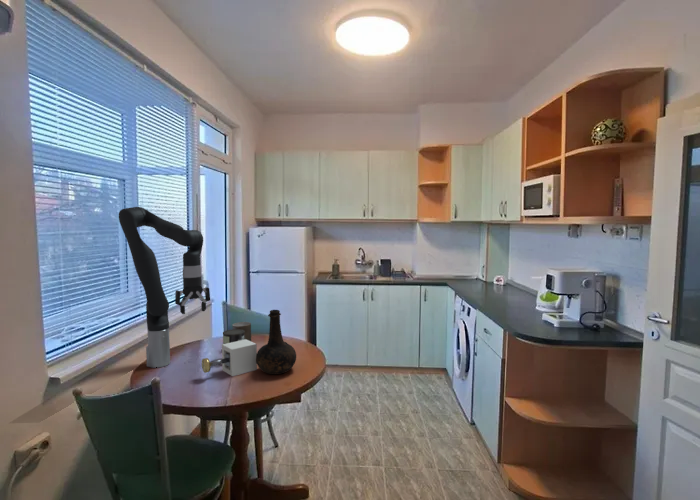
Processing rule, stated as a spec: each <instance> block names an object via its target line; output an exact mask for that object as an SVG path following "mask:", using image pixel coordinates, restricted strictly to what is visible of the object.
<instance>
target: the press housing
mask: <svg viewBox="0 0 700 500" xmlns="http://www.w3.org/2000/svg"><path fill="white" fill-rule="evenodd" d="M257 348H258V345H257V343H255V342H253V341H252V340H251V341H249V340H247V339H245V340H241V341H236V342H231V343H227V344H221V359H224V358H225V353H228V354H230V367H229V366H228V365H226V364H225V363H223V364H221V365H222V371H223V372H224V373H226V374H228V375H230V376H231V377H236V376H238V375H242V374H246V373H250V372H254V371H257V370H258V365H257V363H256V355H257V352H258V350H257Z"/></svg>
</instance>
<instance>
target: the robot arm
mask: <svg viewBox="0 0 700 500" xmlns="http://www.w3.org/2000/svg"><path fill="white" fill-rule="evenodd" d="M118 221H119V224H120V226H121V230H122V232H123V234H124V237H125V240H126V242H127V244H128V247H129V250H130V253H131V256H132V262H133V264H134V269H135V270H136V274H137V276H138V279H139V281H140V283H141V285H142V287H143V290H144V292H145V298H146V303H145V306H146V307H145V310H146V313H145V314H146V315H145V316H146V326H147V327H146V328H147V346H146V347H145V348H146V349H145V350H146V351H145V356H146V367H148V368H154V369H155V368H156V367H157V368H163V367H166V366H168V364H169V365H170V364H171V348H170V347H171V345H170V344H171V343H170V322H169V321H170V320H169V313H168V312H169V308H170V302H169V300H168V299H167V296H166V294H165V291H164V289H163V285H162V280H161V275H160V274H161V273H160V270H159V269H160V268H159V265H158V261H157V258H156V255H155V252H154V251H153V249H152V248H150V247H149V245H148V244H147V243H146V242H145V241H144V240H143V239H142V238H141V235H140V233H139V230H138V228H140V227H150V228H153V229H154V230H155V231H156V233H157V234H158V235H160V236H162V237H164V238H166V239H169V240H172V241H174V242H175V243H177V244H178V245H180V246H183V247H188V250H187V251H186V252H183V255H182V266H183V267H182V281H183V282H182V285H183V286H182V287H183V289H182V290H178V289H177V290H175V294H174V296H175V297H174V298H175V299H174V303H175V305H178V306H179V311H180V313H181V314H182V315H186V303H187V302H189V300H194V299H199V300H200V301H201V302H200V305H201V312H205V311H206V309H207V302H209V301H211V292H210V288H209V287H208V286H205V287H203V283H202V282H203V281H202V276H203V275H202V267H201V264H202V263H201V254H202V250H203V245H204V236H203V234H202V232H201V231H199V230H197V229H184V227H182V226H181V225H180V224H177V223H175V222H174V223H173V222H171V221H168V220H166V219H164V218H161V217H160V216H158V215H156V214H154V213H153V212H151V211H149V210H148V209H146V208H144V207H141V206H133V207H127V208H122V209H120V210H119V212H118ZM202 293H204V295H205V297H204V296H203V295H202ZM182 294H183V295H182ZM181 296H183V297H182V299H181Z"/></svg>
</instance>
